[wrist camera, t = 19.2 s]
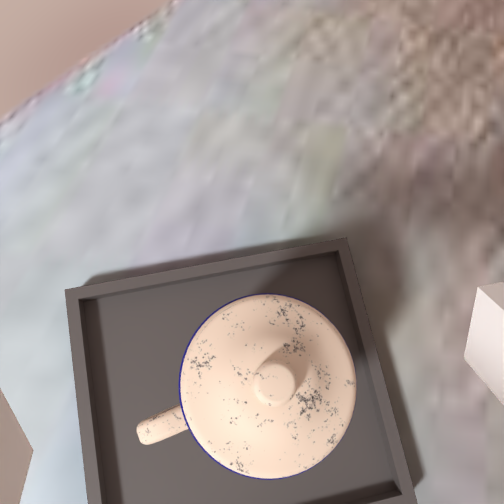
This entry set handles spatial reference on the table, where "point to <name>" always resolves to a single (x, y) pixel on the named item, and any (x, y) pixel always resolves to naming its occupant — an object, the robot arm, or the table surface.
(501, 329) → the robot arm
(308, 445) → the teacup with lid
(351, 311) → the tea tray
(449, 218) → the table surface
